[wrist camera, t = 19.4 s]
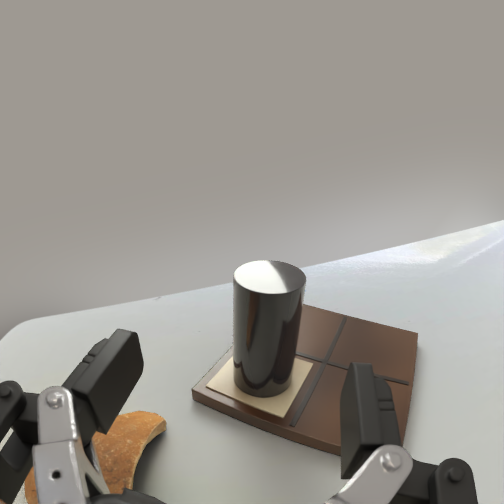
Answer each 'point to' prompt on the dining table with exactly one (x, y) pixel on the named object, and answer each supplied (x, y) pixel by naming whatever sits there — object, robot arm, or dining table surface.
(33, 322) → the dining table surface
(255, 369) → the dark grey cylinder
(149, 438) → the pottery shard
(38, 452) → the robot arm
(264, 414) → the board
